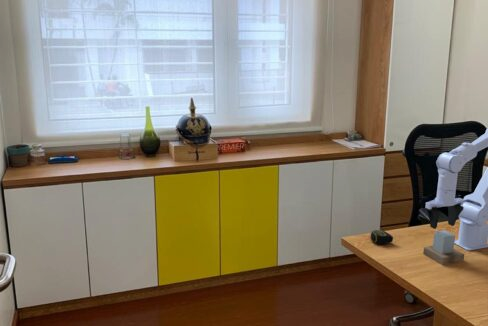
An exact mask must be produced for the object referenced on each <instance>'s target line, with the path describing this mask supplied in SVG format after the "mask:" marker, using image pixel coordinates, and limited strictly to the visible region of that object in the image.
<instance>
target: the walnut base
mask: <svg viewBox="0 0 488 326" xmlns="http://www.w3.org/2000/svg"><path fill="white" fill-rule="evenodd" d="M422 254H423V255H424V256H426V257H428V258H429V259H431V260H433V261H434V262H436V263H437V264H440V265H441V266H444V265H450V264H455V263H459V262H464V261H465V253H464V252H461V251H459V250H457V249H456V248H454V249H453V252H450V253H444V254H442V253H440V252H438V251H436V250H435V249H433V245H430V246H424V247H423V253H422Z"/></svg>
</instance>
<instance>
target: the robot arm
mask: <svg viewBox="0 0 488 326" xmlns="http://www.w3.org/2000/svg"><path fill="white" fill-rule="evenodd" d="M485 148H486V149H487V148H488V128H486V130H485V133H484V134H482V135H480V136H479V137H478V138H476V139H475V140H474V141H472V142H471V143H470V142H461V145H459V146H457V147H456V148H454V149H451V151H449V152H446V151H445V152H443V153H441V154H439V156H438V157H437V160H436V161H435V164H436V167H437V172H438V182H437V188H436V189H437V190H436V197H435V198H434V199H433V200H429V201H427V202H425V207H424V209H425V211H426V214H427V216H428V220H429V227H430V228H432V229H434V230H436V229H437V227H438V222H439V218H440V216H441V213H442V211H441V210H439V209H438V208H442V207H443V208H444V207H447V213H448V214H447V216H448V218H447V224H448V225H449V226H451V227H454V226H455V224H456V222H457V220H458V219H459V220H460V222H459V230H458V239H455V242H454V245H457V246H459V247H461V248H463V249H464V250H466V251H473V250H481V249H486V248H488V223H487V222H488V167H487V168H486V169H485V171H484V173H483V175H482V177H481V178H480V180H479V182H478V184H477V186H476V188H475V190H474V192H472V193H470V194H467V195H465V196H464V197H463V198H461V197H456V191H457V183H458V176H459V175H458V174H459V172H461V170H462V169H463V167H464V166H465V164H466V163H468V162H469V161H471V160H473V159H474V158H476V157H477V155H478V152H480V151H482V150H484V149H485Z"/></svg>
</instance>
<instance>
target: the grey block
mask: <svg viewBox="0 0 488 326" xmlns="http://www.w3.org/2000/svg"><path fill="white" fill-rule="evenodd" d="M455 240H456V235H455V234H454V233H451V232H450V231H448V230H445V229H443V230H439V231H434V234H433V242H432V246H433V249H435V250H436V251H438V252H440V253H442V254H444V253H450V252H453V249H455V243H454V242H455Z"/></svg>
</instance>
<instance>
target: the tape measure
mask: <svg viewBox="0 0 488 326" xmlns="http://www.w3.org/2000/svg"><path fill="white" fill-rule="evenodd" d="M370 240H371V242H373V243H375V244H378V245H386V244H390V243H392V242H393V240H394V236H392V234H390V233H389V232H387V231H385V230H383V229H374V230H372V231H371V233H370Z"/></svg>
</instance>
